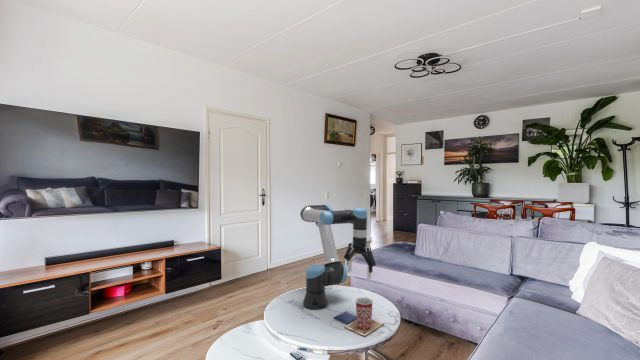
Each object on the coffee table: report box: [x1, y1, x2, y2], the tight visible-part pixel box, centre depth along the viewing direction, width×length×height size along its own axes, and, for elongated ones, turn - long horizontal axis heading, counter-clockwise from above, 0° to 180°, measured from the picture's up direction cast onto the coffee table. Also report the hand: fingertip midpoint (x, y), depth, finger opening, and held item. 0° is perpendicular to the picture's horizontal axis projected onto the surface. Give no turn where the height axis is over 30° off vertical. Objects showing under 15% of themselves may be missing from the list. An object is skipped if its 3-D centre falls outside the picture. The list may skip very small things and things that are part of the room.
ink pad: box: [333, 311, 357, 326], centre depth 160 cm, size 10×10×1 cm
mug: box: [354, 296, 374, 330], centre depth 152 cm, size 13×9×14 cm
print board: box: [344, 318, 385, 338], centre depth 151 cm, size 13×17×1 cm
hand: (359, 275), depth 159 cm, fingers open, 13 cm apart
